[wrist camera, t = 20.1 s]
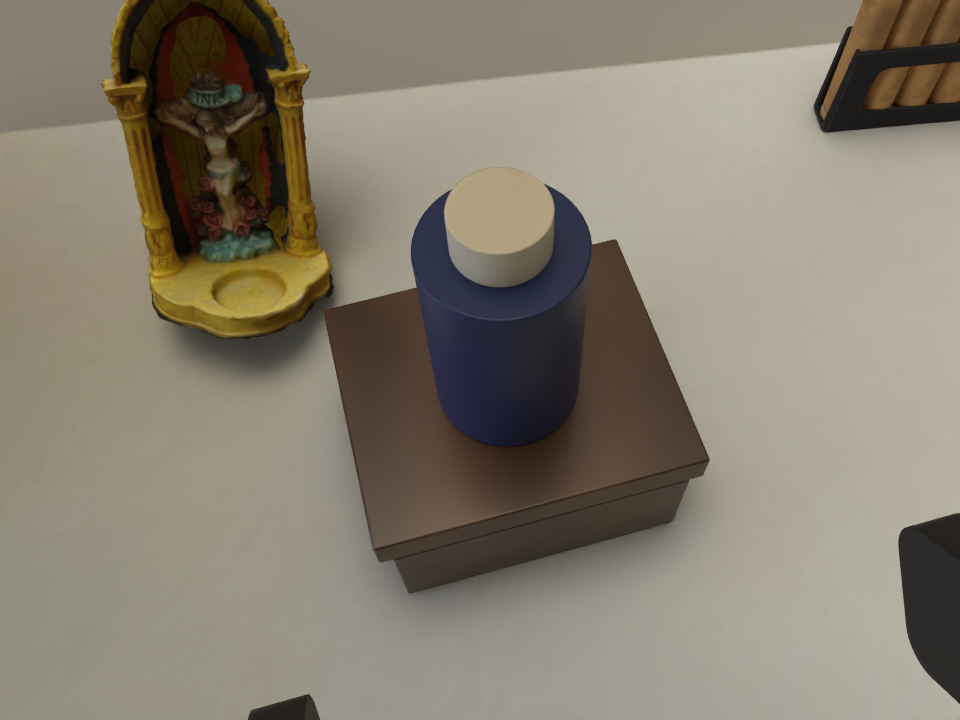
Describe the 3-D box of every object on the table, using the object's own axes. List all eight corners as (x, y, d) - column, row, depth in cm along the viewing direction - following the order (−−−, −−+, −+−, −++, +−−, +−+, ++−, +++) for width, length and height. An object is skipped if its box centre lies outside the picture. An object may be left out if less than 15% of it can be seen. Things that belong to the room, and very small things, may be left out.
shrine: (199, 182, 46) (70, -86, 33) (355, 179, 46) (286, -94, 33) (156, 377, 41) (-20, 146, 28) (334, 376, 40) (240, 140, 27)
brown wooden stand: (396, 597, 35) (372, 550, 30) (349, 382, 40) (322, 309, 35) (685, 518, 36) (711, 460, 31) (605, 317, 41) (616, 237, 36)
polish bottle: (456, 463, 32) (427, 309, 23) (423, 341, 34) (385, 160, 25) (597, 426, 32) (622, 261, 23) (554, 308, 34) (562, 119, 26)
